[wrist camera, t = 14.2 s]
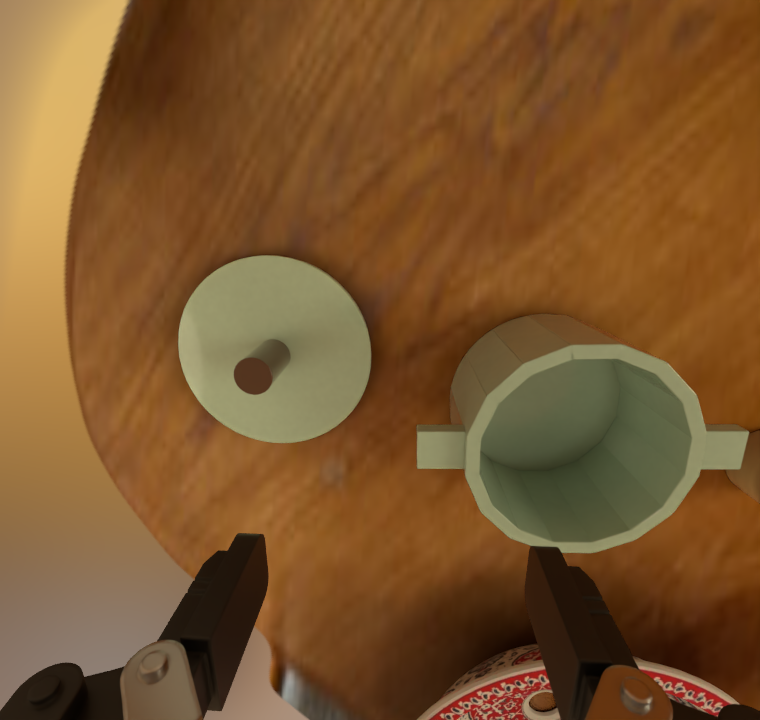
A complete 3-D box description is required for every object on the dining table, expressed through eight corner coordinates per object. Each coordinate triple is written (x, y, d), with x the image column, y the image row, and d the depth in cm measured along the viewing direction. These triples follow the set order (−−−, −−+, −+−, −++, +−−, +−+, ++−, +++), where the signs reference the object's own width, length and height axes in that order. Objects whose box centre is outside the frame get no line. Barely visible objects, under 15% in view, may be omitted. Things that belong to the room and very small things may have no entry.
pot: (413, 315, 31) (417, 346, 23) (679, 311, 30) (784, 342, 22) (413, 475, 34) (417, 551, 26) (650, 476, 33) (730, 555, 25)
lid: (171, 256, 30) (120, 262, 25) (369, 251, 30) (362, 257, 24) (200, 436, 34) (161, 476, 29) (375, 436, 34) (370, 477, 28)
